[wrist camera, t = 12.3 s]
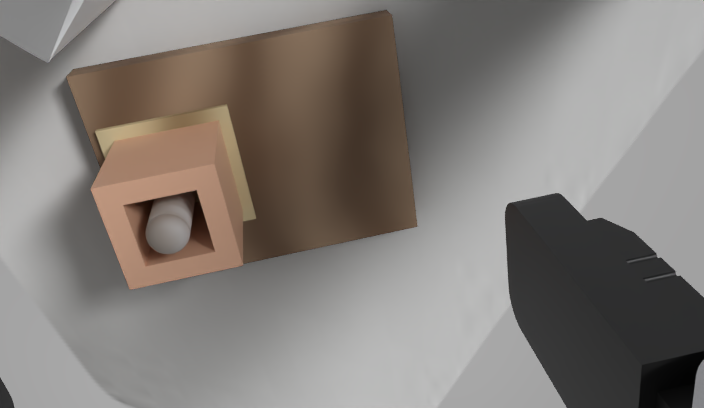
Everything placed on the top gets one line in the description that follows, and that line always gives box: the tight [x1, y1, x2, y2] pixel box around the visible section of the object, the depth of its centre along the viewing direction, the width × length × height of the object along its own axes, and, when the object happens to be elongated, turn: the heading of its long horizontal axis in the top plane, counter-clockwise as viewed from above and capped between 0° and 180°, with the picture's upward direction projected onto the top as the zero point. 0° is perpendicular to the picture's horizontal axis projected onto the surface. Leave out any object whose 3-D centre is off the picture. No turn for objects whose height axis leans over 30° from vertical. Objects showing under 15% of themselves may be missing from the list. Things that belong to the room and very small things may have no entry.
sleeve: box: [91, 120, 243, 290], centre depth 32 cm, size 6×6×6 cm
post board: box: [66, 10, 417, 264], centre depth 33 cm, size 17×13×9 cm
